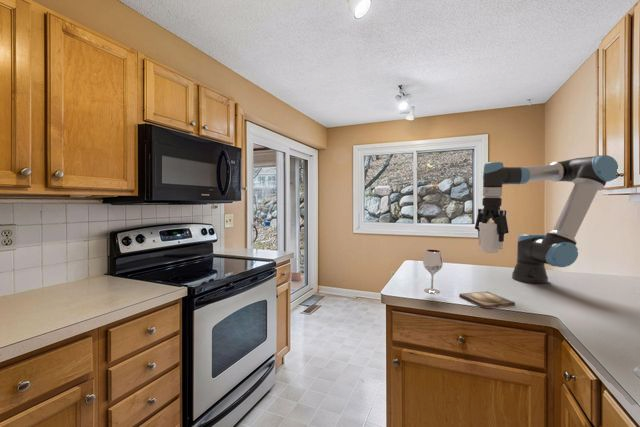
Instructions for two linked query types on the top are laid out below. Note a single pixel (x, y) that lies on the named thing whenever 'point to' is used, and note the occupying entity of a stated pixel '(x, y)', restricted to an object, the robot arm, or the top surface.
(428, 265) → the wineglass
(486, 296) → the stand board
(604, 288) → the top surface
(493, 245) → the foam cup
